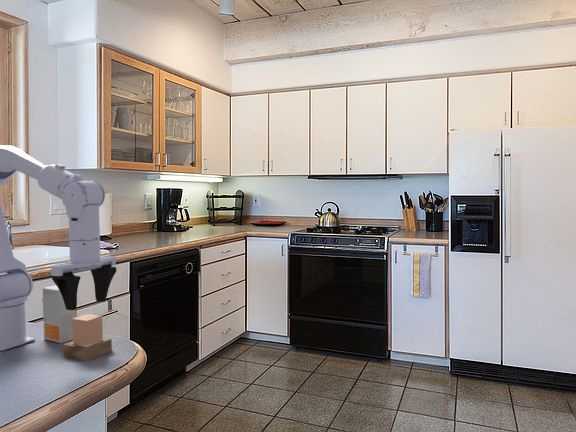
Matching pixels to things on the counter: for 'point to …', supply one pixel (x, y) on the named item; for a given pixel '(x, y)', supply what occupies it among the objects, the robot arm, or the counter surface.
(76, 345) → the walnut foundation
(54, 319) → the skincare box
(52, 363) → the counter surface
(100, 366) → the counter surface
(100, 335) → the terracotta block
